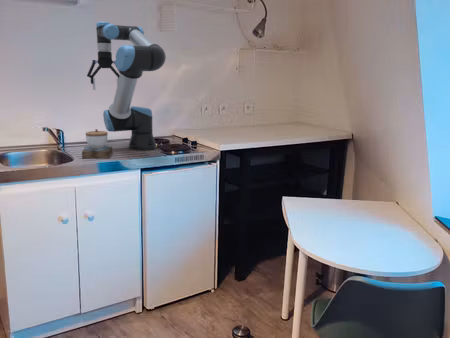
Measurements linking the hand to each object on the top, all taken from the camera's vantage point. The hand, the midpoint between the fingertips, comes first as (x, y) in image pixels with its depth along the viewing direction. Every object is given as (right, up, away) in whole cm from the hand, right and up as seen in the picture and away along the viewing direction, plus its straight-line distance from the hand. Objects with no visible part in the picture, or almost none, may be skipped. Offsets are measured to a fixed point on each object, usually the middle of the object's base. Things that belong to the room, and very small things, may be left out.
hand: (106, 89), depth 237 cm
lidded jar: (+2, -34, -24) cm, 42 cm away
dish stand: (+2, -38, -23) cm, 45 cm away
